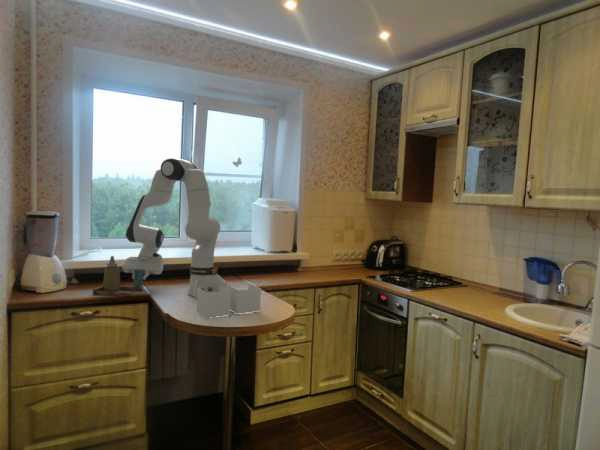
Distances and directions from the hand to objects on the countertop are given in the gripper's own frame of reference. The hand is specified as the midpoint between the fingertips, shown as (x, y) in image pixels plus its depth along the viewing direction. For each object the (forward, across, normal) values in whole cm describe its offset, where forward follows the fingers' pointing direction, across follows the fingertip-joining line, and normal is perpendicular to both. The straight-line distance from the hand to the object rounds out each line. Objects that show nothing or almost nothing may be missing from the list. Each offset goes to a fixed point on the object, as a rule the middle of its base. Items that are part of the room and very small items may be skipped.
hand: (138, 279), depth 204 cm
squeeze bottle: (+9, -11, 0) cm, 14 cm away
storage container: (+25, +54, -16) cm, 61 cm away
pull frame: (+8, -7, 0) cm, 11 cm away
